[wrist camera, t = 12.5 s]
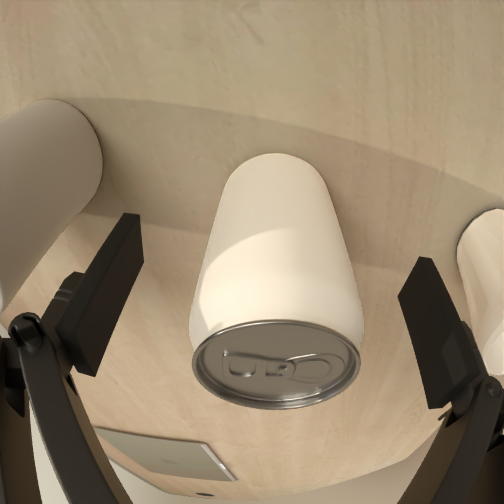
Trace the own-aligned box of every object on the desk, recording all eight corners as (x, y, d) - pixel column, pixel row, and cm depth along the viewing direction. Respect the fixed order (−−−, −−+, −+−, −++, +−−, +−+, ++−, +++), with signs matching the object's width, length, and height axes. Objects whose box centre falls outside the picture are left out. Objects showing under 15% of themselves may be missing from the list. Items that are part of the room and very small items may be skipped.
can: (319, 246, 22) (344, 414, 12) (223, 239, 22) (190, 407, 12) (335, 155, 18) (403, 315, 8) (223, 147, 18) (164, 302, 8)
